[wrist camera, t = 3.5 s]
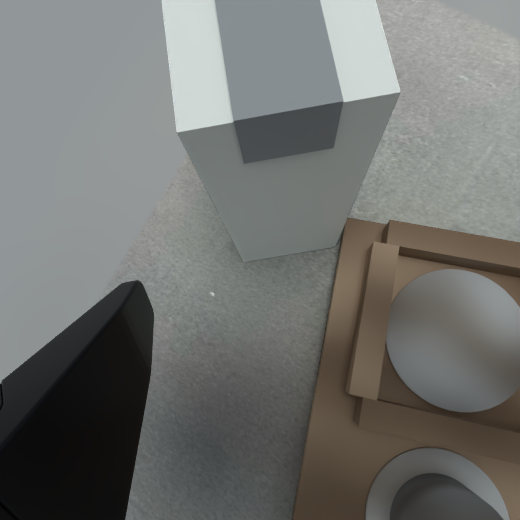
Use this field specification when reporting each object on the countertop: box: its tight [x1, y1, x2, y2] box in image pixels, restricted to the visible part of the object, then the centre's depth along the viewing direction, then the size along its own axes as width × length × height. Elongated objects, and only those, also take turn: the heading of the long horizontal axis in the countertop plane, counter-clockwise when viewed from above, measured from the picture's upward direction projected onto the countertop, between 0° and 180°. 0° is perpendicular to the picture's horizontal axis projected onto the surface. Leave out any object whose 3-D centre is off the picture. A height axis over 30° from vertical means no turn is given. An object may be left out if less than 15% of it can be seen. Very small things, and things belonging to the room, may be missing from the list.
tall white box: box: [162, 0, 400, 262], centre depth 16 cm, size 5×5×13 cm
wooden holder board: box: [291, 218, 520, 520], centre depth 17 cm, size 16×12×4 cm
